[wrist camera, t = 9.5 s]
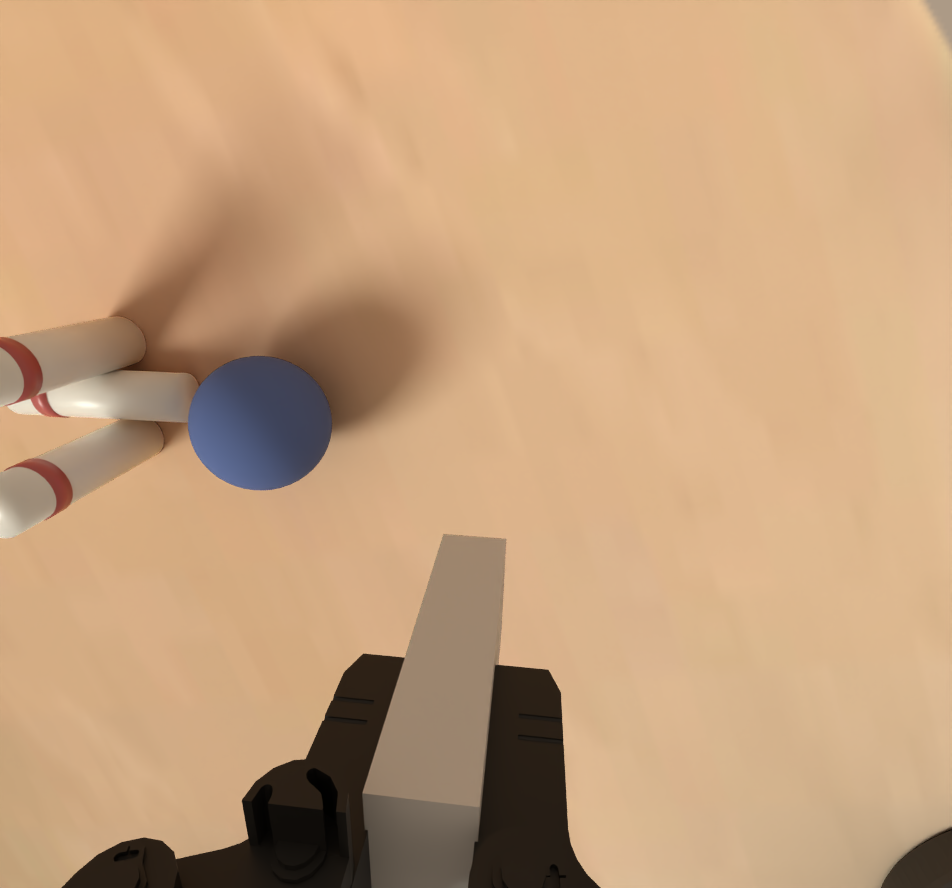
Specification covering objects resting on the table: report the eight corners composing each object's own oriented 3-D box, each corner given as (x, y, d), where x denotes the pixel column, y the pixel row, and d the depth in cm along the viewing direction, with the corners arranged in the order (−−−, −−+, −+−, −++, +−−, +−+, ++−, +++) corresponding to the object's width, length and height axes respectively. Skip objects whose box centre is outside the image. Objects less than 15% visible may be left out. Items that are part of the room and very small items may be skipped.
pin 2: (160, 414, 28) (15, 483, 21) (168, 458, 29) (33, 541, 21) (115, 412, 29) (-45, 479, 21) (124, 456, 30) (-26, 536, 22)
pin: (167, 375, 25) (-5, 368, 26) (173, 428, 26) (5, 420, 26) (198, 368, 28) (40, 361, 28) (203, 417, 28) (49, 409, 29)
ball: (172, 357, 25) (305, 330, 27) (215, 471, 28) (333, 439, 30) (158, 400, 20) (323, 363, 22) (213, 533, 23) (355, 490, 24)
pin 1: (141, 316, 27) (-24, 350, 19) (151, 367, 28) (-3, 419, 20) (93, 314, 27) (-91, 347, 19) (104, 364, 28) (-67, 415, 20)
